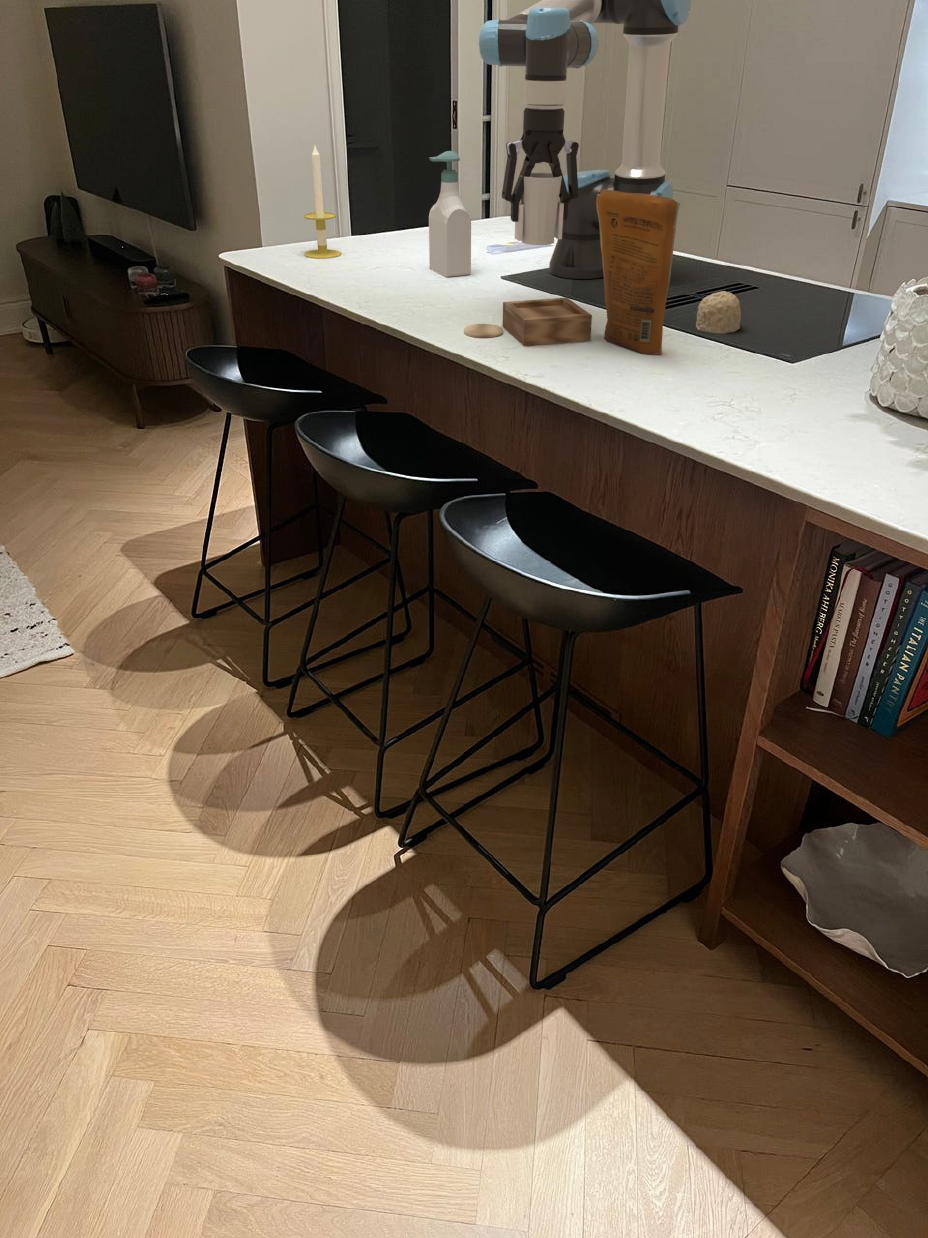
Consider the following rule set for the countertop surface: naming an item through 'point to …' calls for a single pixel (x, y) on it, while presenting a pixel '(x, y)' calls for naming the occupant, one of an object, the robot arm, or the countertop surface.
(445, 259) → the soap bottle
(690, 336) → the countertop surface
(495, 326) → the coaster
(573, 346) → the countertop surface
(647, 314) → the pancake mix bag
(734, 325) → the sponge
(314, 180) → the candle
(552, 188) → the cup
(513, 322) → the wooden tray
